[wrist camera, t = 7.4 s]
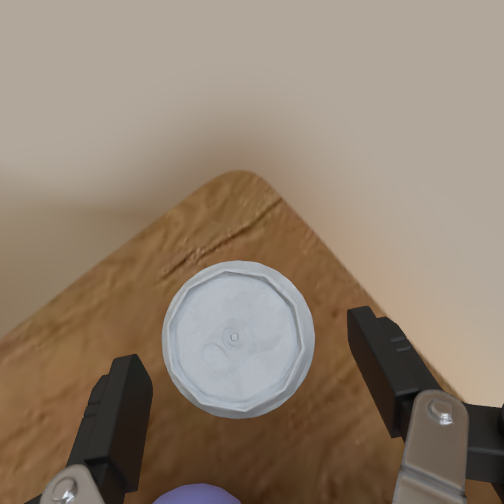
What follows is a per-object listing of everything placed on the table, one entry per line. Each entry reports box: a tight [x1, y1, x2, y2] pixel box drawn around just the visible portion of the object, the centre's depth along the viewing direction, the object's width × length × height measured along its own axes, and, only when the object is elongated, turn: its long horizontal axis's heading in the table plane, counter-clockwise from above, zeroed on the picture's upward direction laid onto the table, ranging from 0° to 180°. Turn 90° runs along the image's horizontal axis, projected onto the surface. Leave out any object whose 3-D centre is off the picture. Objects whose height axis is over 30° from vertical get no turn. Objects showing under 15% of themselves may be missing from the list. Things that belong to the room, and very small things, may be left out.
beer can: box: [162, 261, 315, 419], centre depth 15 cm, size 5×5×12 cm
